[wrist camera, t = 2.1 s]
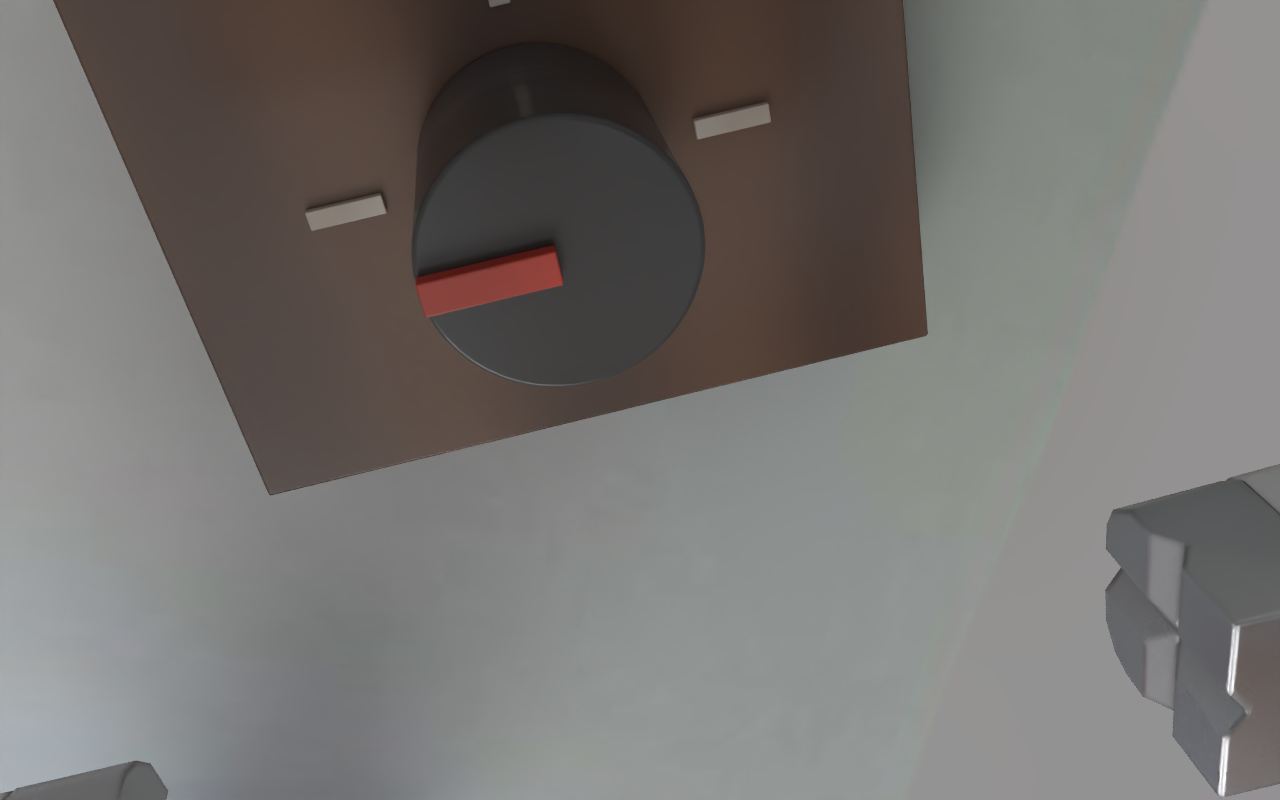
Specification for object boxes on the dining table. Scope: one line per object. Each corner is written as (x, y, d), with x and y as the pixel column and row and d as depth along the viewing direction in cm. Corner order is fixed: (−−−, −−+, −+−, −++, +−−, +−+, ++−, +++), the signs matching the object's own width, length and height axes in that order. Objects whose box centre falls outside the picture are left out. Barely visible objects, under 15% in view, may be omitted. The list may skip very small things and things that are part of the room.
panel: (831, -260, 21) (888, -260, 19) (882, 279, 27) (931, 340, 24) (75, -88, 21) (21, -62, 18) (286, 423, 27) (267, 501, 24)
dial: (634, 16, 20) (683, 87, 16) (677, 247, 23) (730, 361, 18) (385, 74, 20) (370, 160, 16) (454, 300, 22) (457, 427, 18)
